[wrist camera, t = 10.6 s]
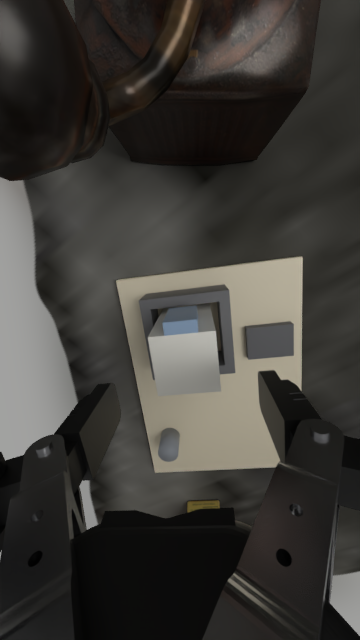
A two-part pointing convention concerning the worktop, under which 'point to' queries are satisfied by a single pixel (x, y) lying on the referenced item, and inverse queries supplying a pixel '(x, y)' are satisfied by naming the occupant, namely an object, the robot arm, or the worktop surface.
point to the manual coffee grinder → (149, 79)
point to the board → (233, 355)
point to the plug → (185, 351)
